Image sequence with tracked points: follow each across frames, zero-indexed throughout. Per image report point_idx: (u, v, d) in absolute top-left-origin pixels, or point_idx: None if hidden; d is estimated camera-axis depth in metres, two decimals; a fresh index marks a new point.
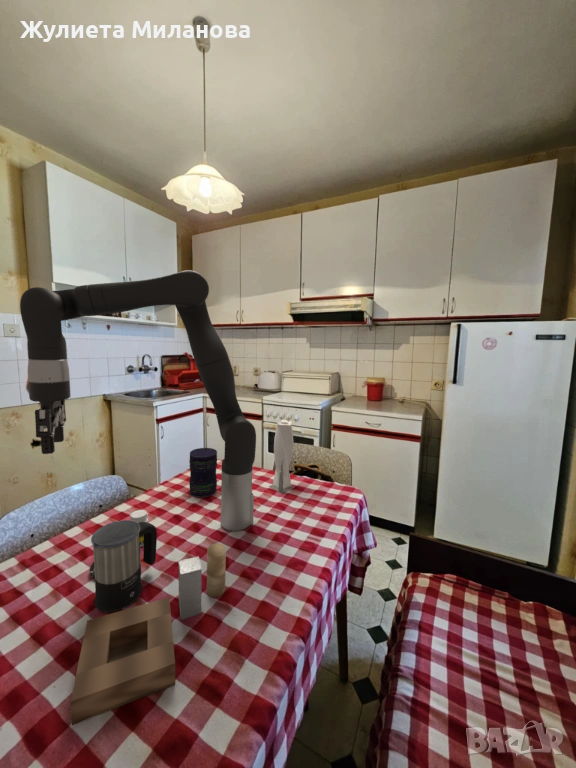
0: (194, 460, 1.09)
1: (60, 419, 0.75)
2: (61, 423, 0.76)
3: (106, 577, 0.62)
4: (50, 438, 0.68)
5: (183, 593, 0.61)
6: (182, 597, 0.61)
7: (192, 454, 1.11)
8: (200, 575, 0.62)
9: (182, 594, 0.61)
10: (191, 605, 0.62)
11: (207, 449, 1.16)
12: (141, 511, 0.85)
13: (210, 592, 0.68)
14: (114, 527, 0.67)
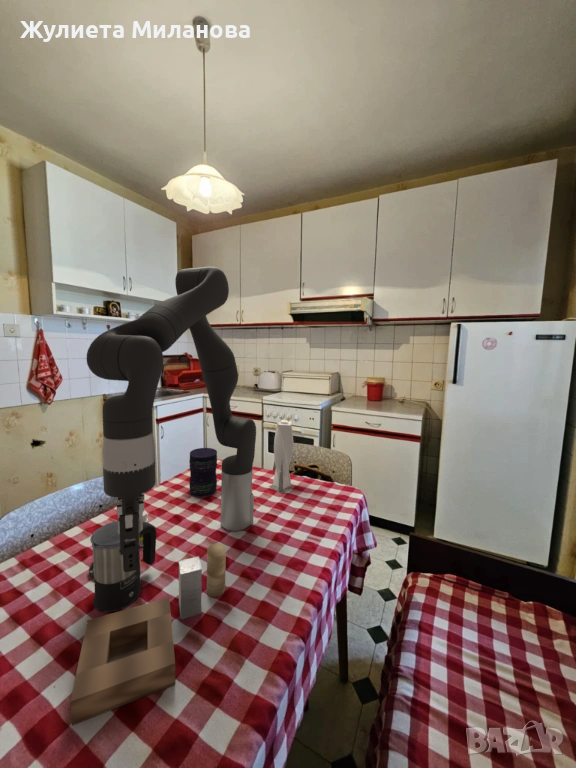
0: (194, 460, 1.09)
1: None
2: None
3: (106, 577, 0.62)
4: None
5: (183, 593, 0.61)
6: (182, 597, 0.61)
7: (192, 454, 1.11)
8: (200, 575, 0.62)
9: (182, 594, 0.61)
10: (191, 605, 0.62)
11: (207, 449, 1.16)
12: None
13: (210, 592, 0.68)
14: (114, 527, 0.67)
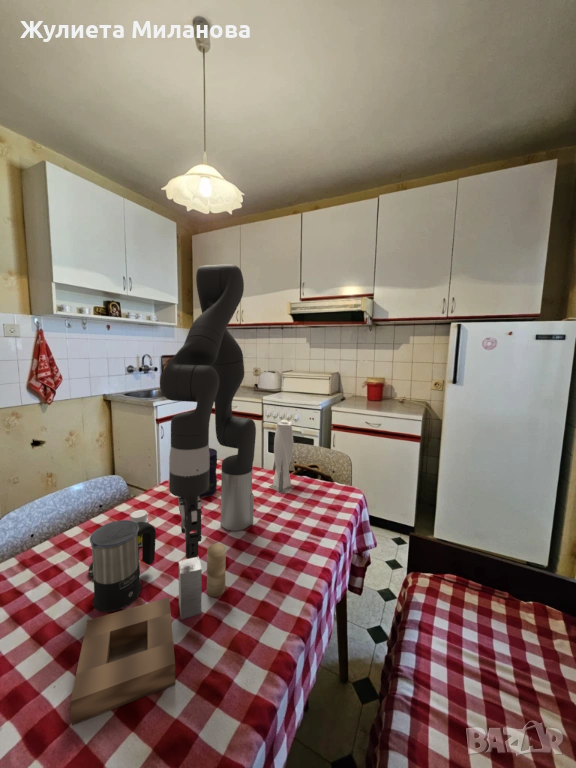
0: None
1: None
2: None
3: (105, 577, 0.62)
4: None
5: (183, 593, 0.61)
6: (182, 597, 0.61)
7: None
8: (200, 575, 0.62)
9: (182, 594, 0.61)
10: (191, 605, 0.62)
11: None
12: (141, 511, 0.85)
13: (210, 592, 0.68)
14: (113, 527, 0.67)
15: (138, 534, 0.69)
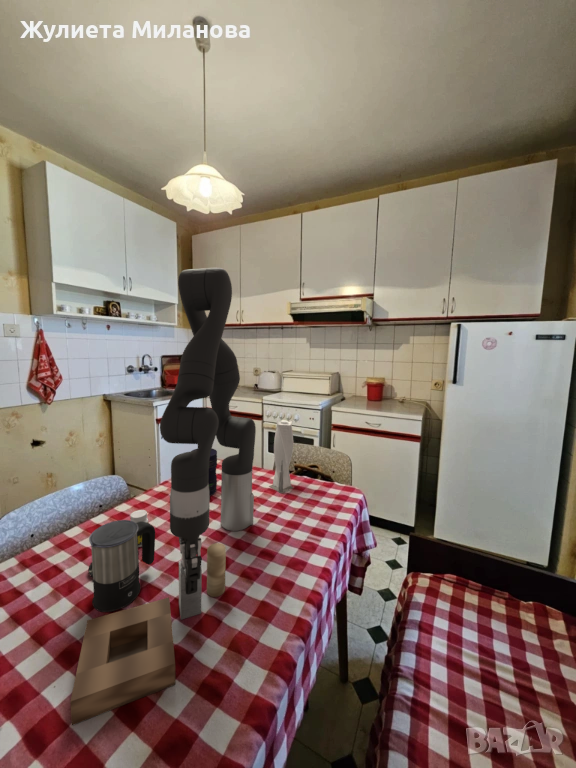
0: None
1: None
2: None
3: (104, 577, 0.62)
4: None
5: (183, 593, 0.61)
6: (182, 597, 0.61)
7: None
8: None
9: (182, 594, 0.61)
10: (191, 604, 0.62)
11: None
12: (141, 511, 0.85)
13: (210, 592, 0.68)
14: (113, 527, 0.67)
15: (138, 534, 0.69)
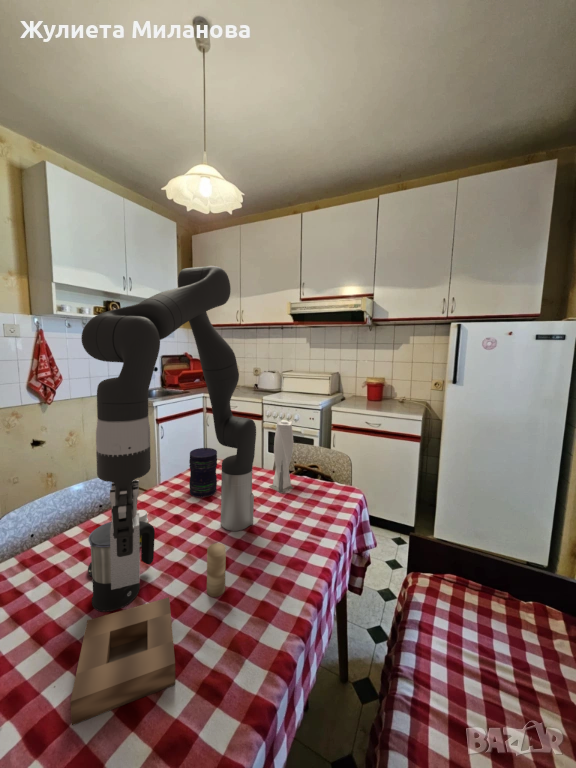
0: (194, 460, 1.09)
1: None
2: None
3: (104, 576, 0.62)
4: None
5: (114, 555, 0.48)
6: (113, 560, 0.48)
7: (192, 454, 1.11)
8: (137, 533, 0.49)
9: (113, 556, 0.48)
10: (125, 571, 0.49)
11: (207, 449, 1.16)
12: (141, 511, 0.85)
13: (210, 592, 0.68)
14: None
15: None
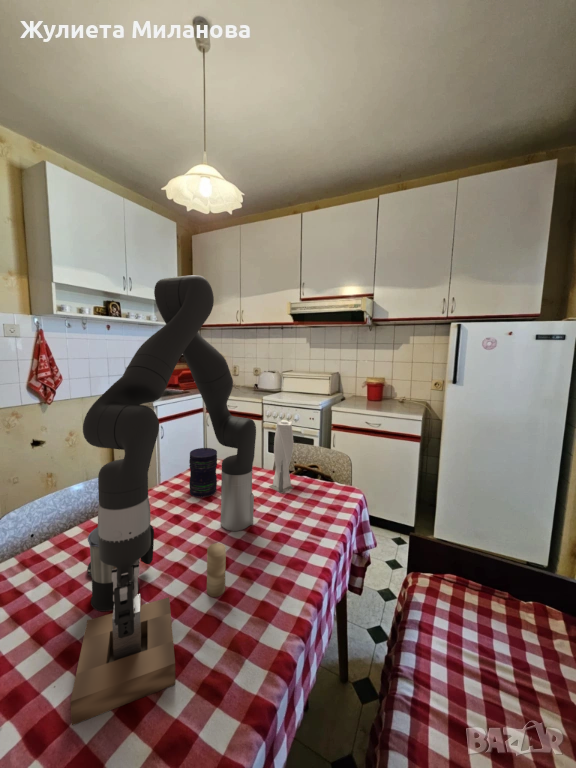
0: (194, 460, 1.09)
1: None
2: None
3: (103, 576, 0.62)
4: None
5: (116, 642, 0.50)
6: (115, 646, 0.50)
7: (192, 454, 1.11)
8: (138, 619, 0.51)
9: (115, 643, 0.50)
10: (127, 655, 0.51)
11: (207, 449, 1.16)
12: None
13: (210, 592, 0.68)
14: None
15: None
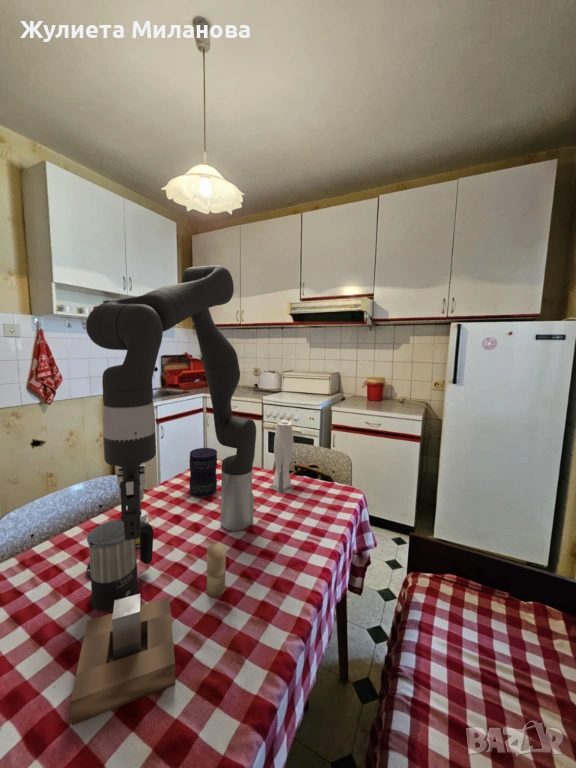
0: (194, 460, 1.09)
1: None
2: (139, 486, 0.56)
3: (102, 576, 0.62)
4: (137, 518, 0.48)
5: (116, 642, 0.50)
6: (115, 646, 0.50)
7: (192, 454, 1.11)
8: (138, 619, 0.51)
9: (115, 643, 0.50)
10: (127, 655, 0.51)
11: (207, 449, 1.16)
12: (141, 511, 0.85)
13: (210, 592, 0.68)
14: (110, 527, 0.67)
15: None
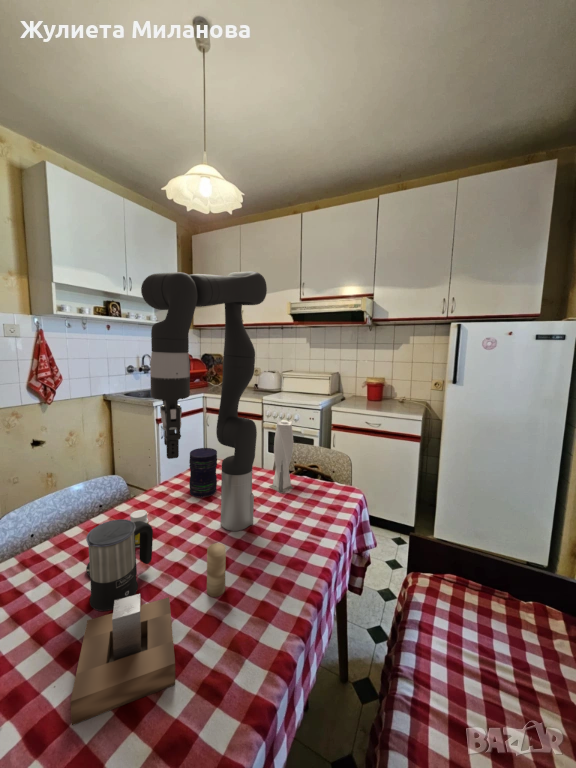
0: (194, 460, 1.09)
1: None
2: None
3: (101, 576, 0.62)
4: (176, 441, 0.61)
5: (116, 642, 0.50)
6: (115, 646, 0.50)
7: (192, 454, 1.11)
8: (138, 619, 0.51)
9: (115, 643, 0.50)
10: (127, 655, 0.51)
11: (207, 449, 1.16)
12: (141, 511, 0.85)
13: (210, 592, 0.68)
14: (110, 526, 0.67)
15: (135, 533, 0.69)
